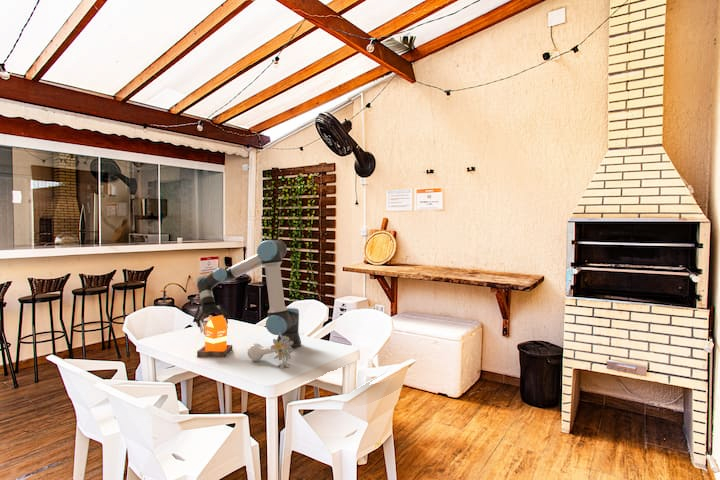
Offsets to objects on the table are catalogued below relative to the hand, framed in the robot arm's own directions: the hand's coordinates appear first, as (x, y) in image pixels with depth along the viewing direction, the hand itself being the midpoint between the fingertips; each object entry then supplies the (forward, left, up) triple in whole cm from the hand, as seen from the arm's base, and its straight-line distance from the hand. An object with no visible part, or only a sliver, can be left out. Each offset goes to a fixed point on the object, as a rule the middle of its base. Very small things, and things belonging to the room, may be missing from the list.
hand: (214, 330), depth 234 cm
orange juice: (-1, +1, -12) cm, 12 cm away
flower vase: (-35, +17, -13) cm, 41 cm away
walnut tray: (-1, +1, -13) cm, 13 cm away
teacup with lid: (+19, -46, -13) cm, 52 cm away
